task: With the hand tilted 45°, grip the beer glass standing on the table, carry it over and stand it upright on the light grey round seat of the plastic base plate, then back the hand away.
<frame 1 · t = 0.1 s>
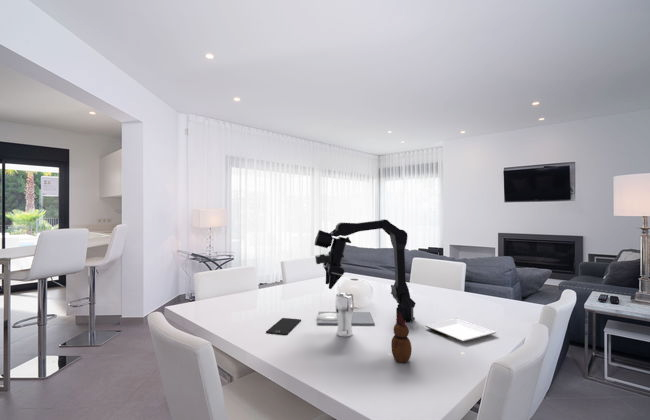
hand: (328, 286, 137), 15 cm above the table, tool pointing down, fingers open, 9 cm apart
wooden figurine: (401, 360, 101), on the table
cell phone: (284, 327, 132), on the table
base plate: (345, 318, 142), on the table
beer glass: (344, 334, 123), on the table
plate: (459, 333, 125), on the table
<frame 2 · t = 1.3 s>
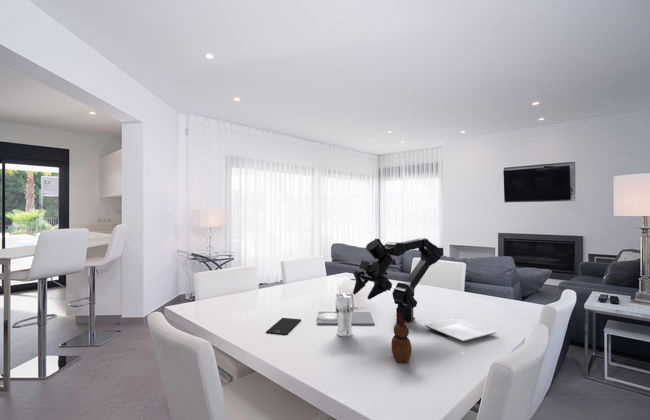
hand: (360, 296, 128), 13 cm above the table, tool tilted 45°, fingers open, 9 cm apart
nothing on the table moved.
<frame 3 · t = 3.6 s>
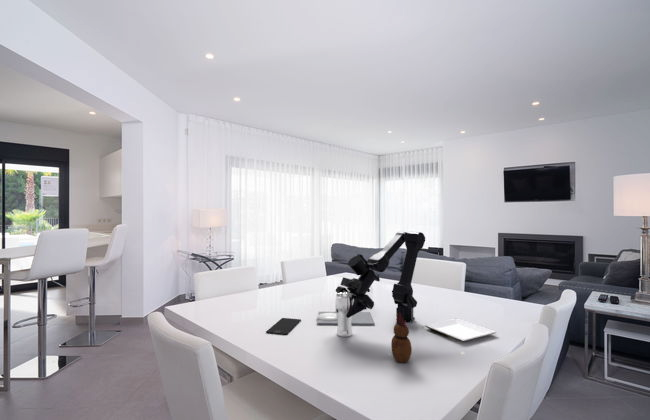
hand: (341, 314, 123), 8 cm above the table, tool tilted 45°, fingers closed on beer glass, 7 cm apart
beer glass: (344, 334, 123), on the table, touching gripper
everything else where it was.
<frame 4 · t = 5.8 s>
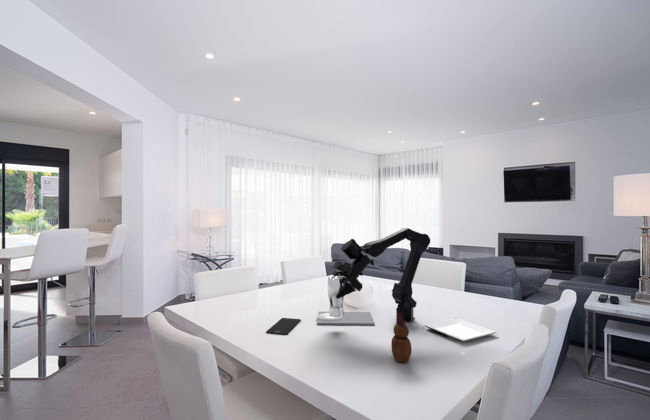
hand: (333, 296, 129), 13 cm above the table, tool tilted 45°, fingers closed on beer glass, 7 cm apart
beer glass: (336, 315, 129), point 5 cm above the table, touching gripper
everything else where it was.
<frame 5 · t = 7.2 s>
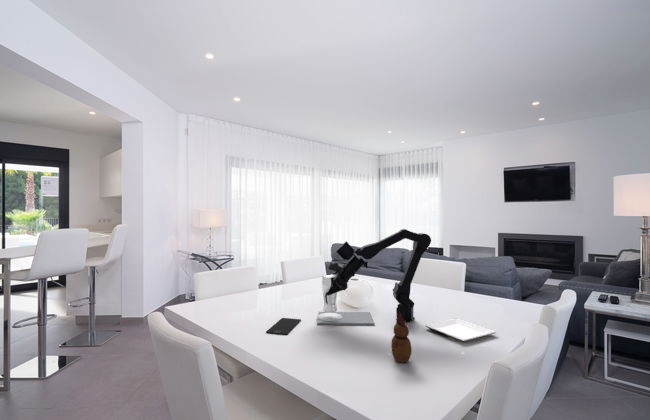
hand: (327, 293, 142), 11 cm above the table, tool tilted 45°, fingers closed on beer glass, 7 cm apart
beer glass: (330, 310, 142), point 4 cm above the table, touching gripper
everything else where it was.
when the fingers open (10 cm above the table, at t = 8.1 s): beer glass stays where it is, resting on base plate.
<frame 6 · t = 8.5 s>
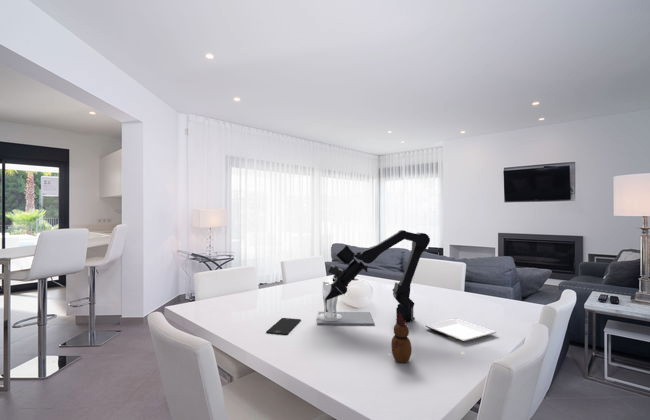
hand: (326, 296, 142), 10 cm above the table, tool tilted 45°, fingers open, 9 cm apart
beer glass: (330, 317, 142), point 1 cm above the table, touching base plate
everything else where it was.
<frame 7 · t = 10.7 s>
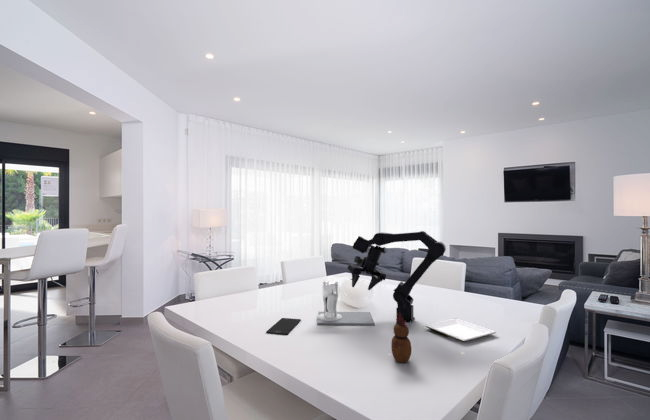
hand: (360, 288, 150), 12 cm above the table, tool tilted 20°, fingers open, 9 cm apart
nothing on the table moved.
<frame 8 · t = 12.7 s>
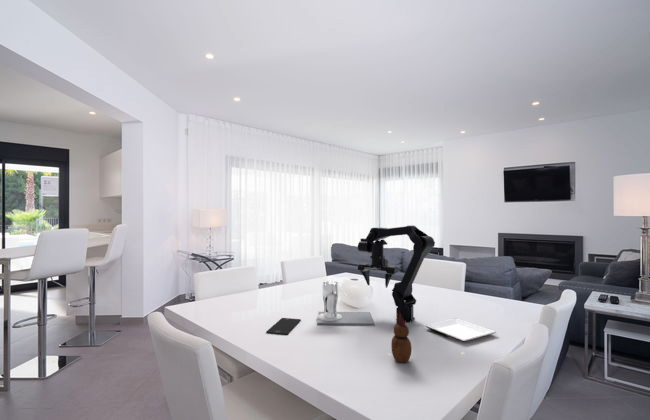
hand: (377, 286, 153), 12 cm above the table, tool pointing down, fingers open, 9 cm apart
nothing on the table moved.
at the end: beer glass inside the target area on the base plate (0.3 cm from its centre), point 0.8 cm above the base plate's base; beer glass tilted 0°; the gripper is holding nothing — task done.
